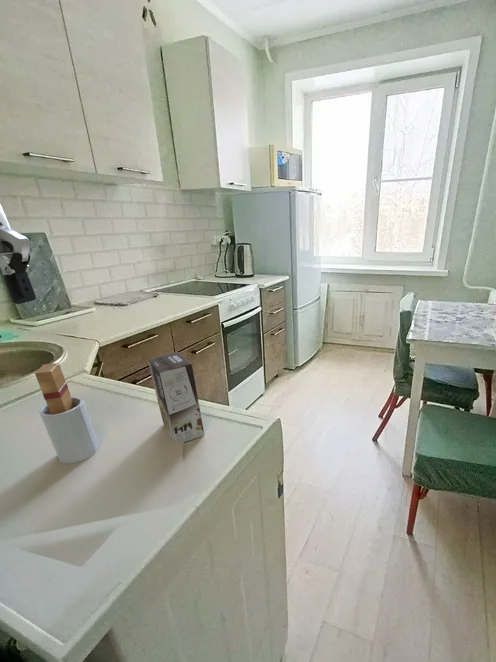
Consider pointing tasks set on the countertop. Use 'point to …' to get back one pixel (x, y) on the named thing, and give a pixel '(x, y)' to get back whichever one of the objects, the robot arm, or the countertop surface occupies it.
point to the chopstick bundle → (54, 388)
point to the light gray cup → (71, 432)
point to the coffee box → (177, 396)
